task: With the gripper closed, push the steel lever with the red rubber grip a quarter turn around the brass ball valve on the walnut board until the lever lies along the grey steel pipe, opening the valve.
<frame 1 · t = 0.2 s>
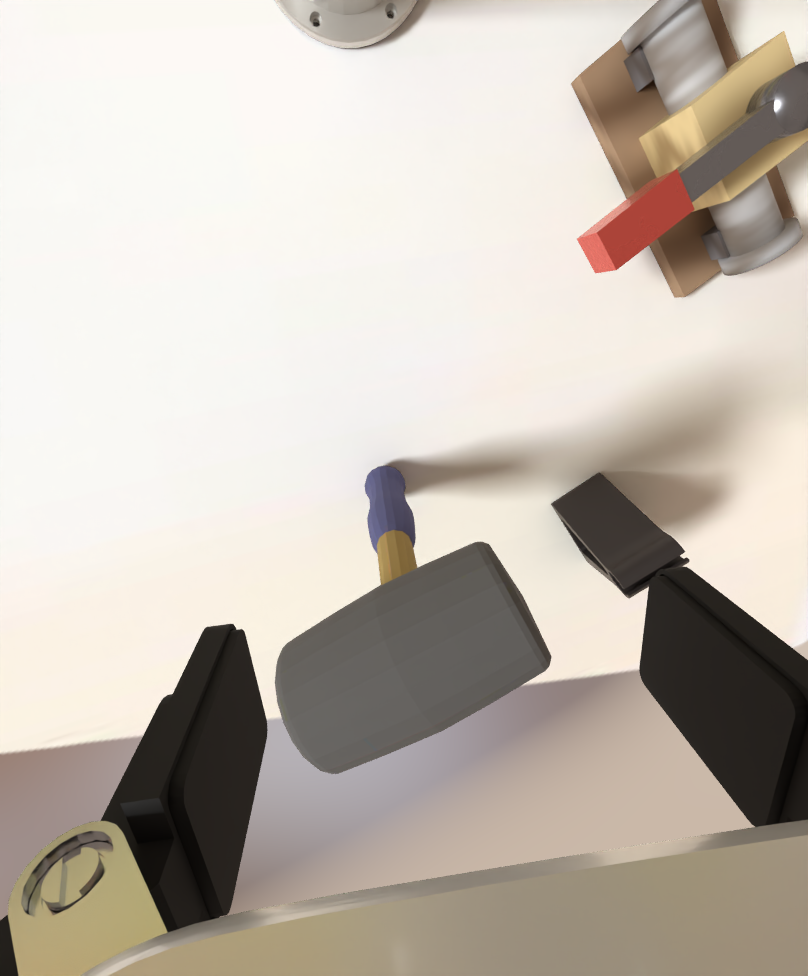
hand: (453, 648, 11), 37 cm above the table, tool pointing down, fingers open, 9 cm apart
rubber mallet: (384, 479, 48), on the table
phone stand: (591, 517, 52), on the table
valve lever: (699, 172, 32), point 10 cm above the table, hinge at -90.0°
valve manifold: (682, 155, 41), on the table
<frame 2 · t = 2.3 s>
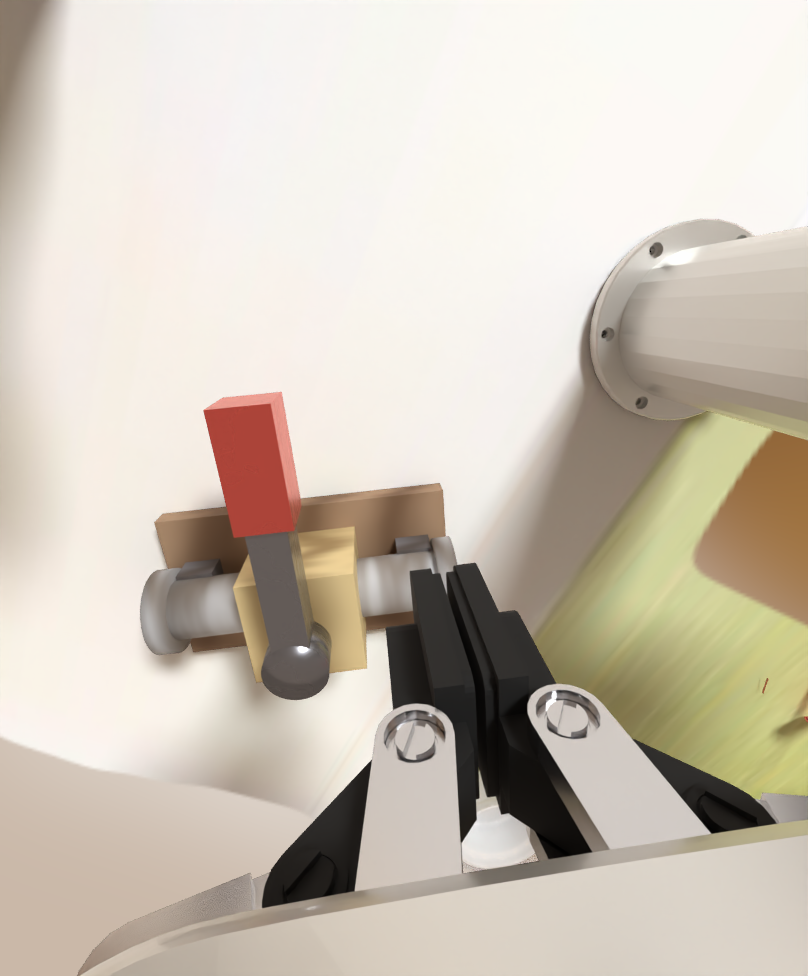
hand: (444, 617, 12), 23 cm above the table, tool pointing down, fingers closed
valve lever: (277, 558, 24), point 10 cm above the table, hinge at -90.0°
valve manifold: (314, 564, 36), on the table
ramekin: (488, 791, 47), on the table
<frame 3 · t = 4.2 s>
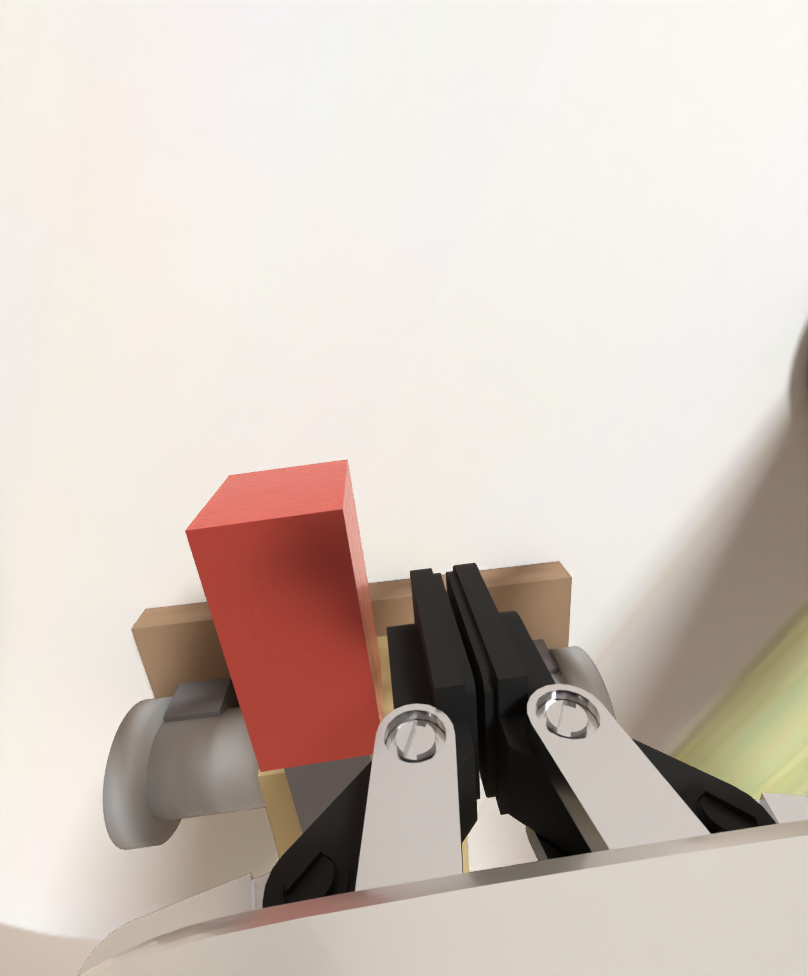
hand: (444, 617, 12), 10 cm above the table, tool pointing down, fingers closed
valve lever: (341, 769, 13), point 10 cm above the table, hinge at -88.1°, touching gripper
valve manifold: (369, 674, 25), on the table
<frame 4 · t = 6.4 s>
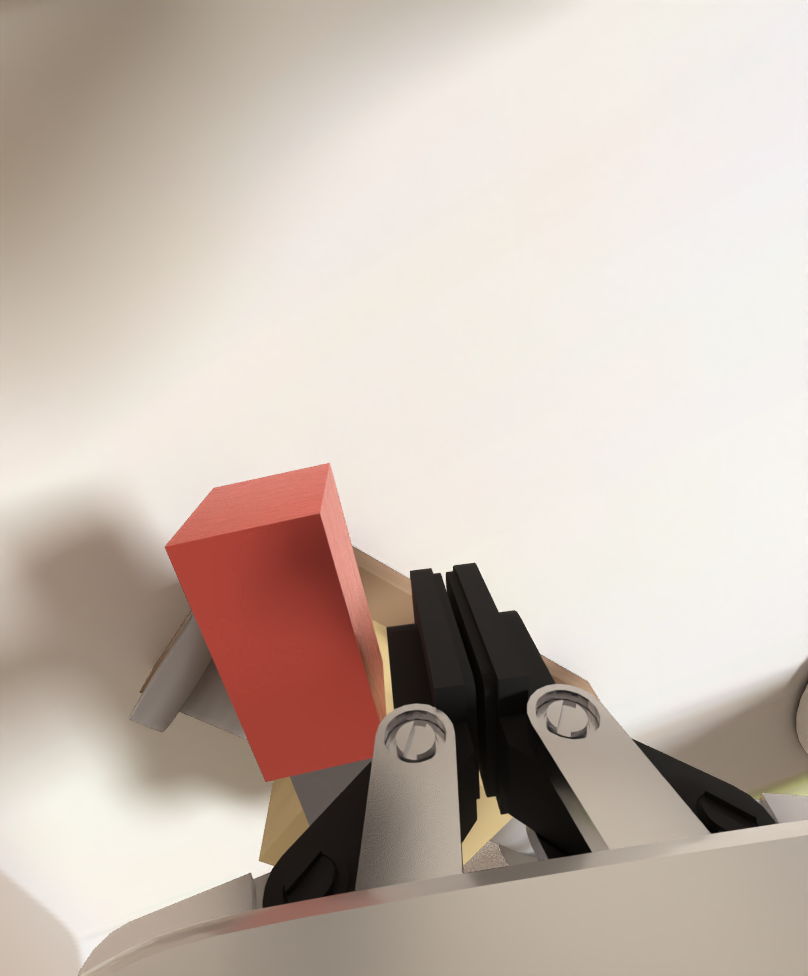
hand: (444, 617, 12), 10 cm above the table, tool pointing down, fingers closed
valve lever: (351, 774, 13), point 10 cm above the table, hinge at -43.4°, touching gripper
valve manifold: (382, 675, 25), on the table
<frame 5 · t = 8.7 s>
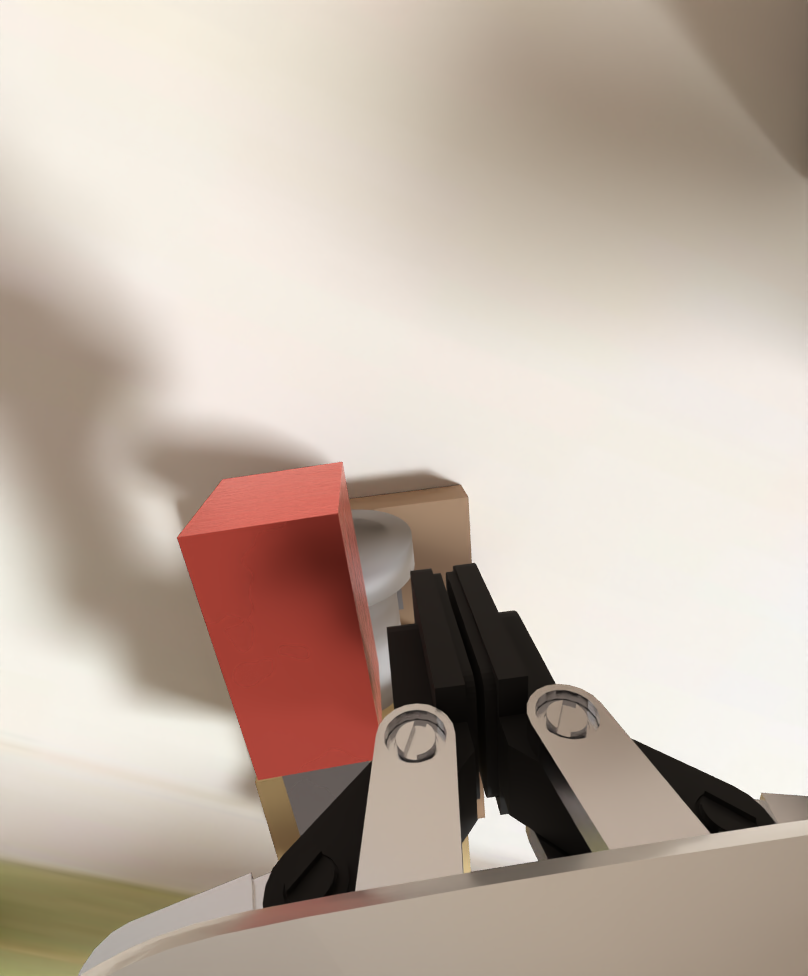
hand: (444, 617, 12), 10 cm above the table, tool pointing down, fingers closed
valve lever: (340, 775, 13), point 10 cm above the table, hinge at 1.4°, touching gripper
valve manifold: (367, 676, 25), on the table
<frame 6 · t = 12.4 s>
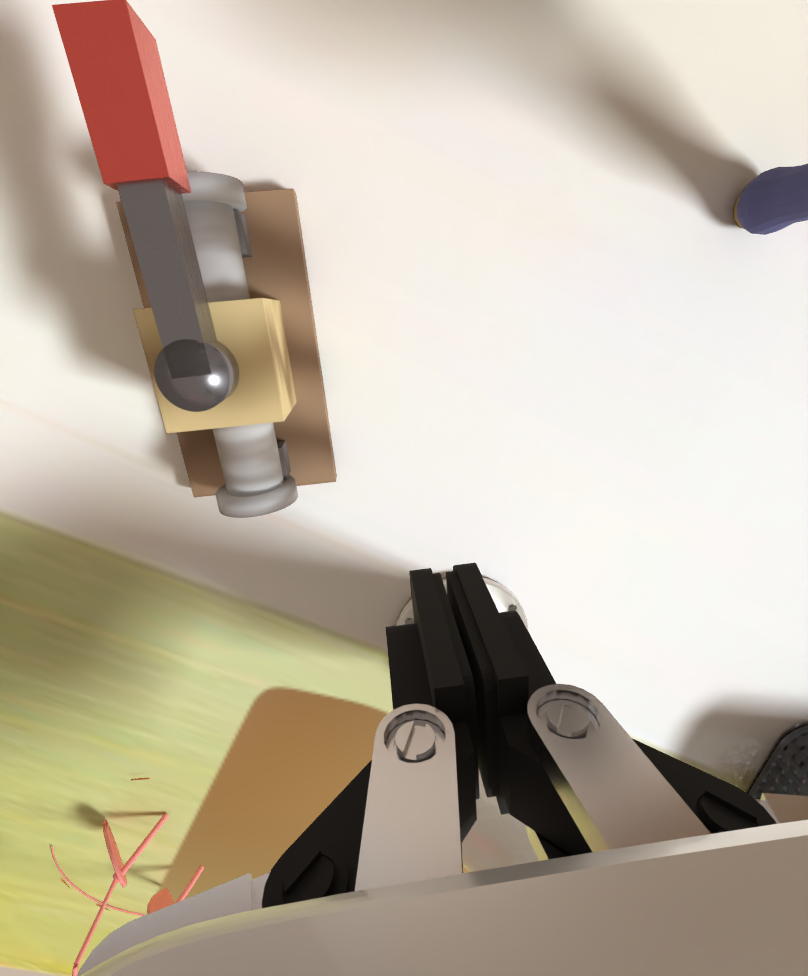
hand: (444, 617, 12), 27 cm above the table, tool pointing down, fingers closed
rubber mallet: (748, 207, 35), on the table
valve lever: (164, 239, 23), point 11 cm above the table, hinge at 1.5°
valve manifold: (243, 356, 35), on the table
figurine: (127, 854, 52), on the table
storage bin: (799, 806, 60), on the table
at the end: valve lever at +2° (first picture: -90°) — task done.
